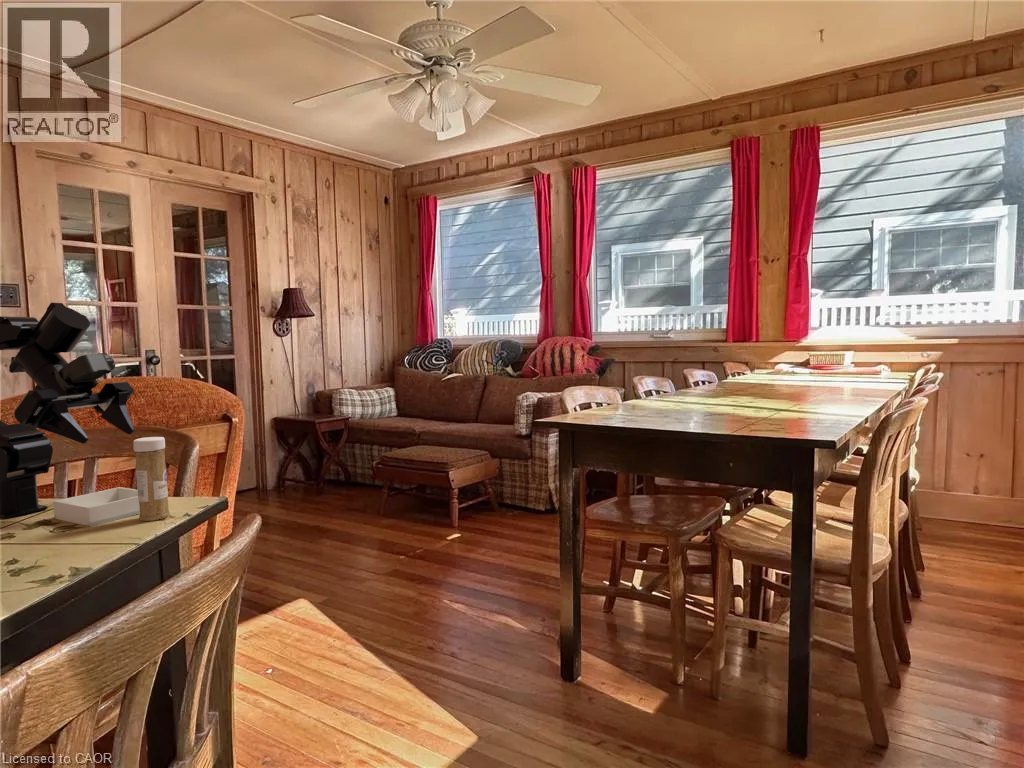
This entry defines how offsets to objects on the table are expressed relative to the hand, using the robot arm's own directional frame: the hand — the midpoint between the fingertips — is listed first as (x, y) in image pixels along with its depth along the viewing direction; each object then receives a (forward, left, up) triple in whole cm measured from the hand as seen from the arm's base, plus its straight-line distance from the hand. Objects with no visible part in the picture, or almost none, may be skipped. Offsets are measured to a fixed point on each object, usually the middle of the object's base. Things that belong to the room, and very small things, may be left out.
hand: (110, 437), depth 107 cm
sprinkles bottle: (+7, +2, -14) cm, 16 cm away
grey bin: (-3, 0, -14) cm, 14 cm away
